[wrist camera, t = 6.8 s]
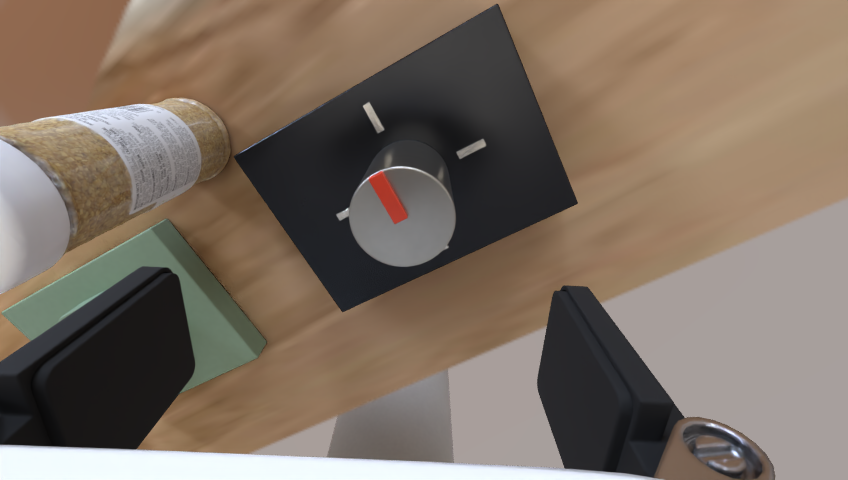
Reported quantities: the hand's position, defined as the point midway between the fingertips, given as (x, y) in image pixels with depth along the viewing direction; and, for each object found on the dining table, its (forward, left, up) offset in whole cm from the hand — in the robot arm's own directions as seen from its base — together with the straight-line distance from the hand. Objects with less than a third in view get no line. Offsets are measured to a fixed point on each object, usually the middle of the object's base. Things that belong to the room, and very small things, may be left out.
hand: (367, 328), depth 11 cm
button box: (-10, +16, -14) cm, 24 cm away
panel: (+1, -1, -14) cm, 14 cm away
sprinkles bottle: (+2, +11, -15) cm, 19 cm away
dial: (+1, 0, -11) cm, 11 cm away
